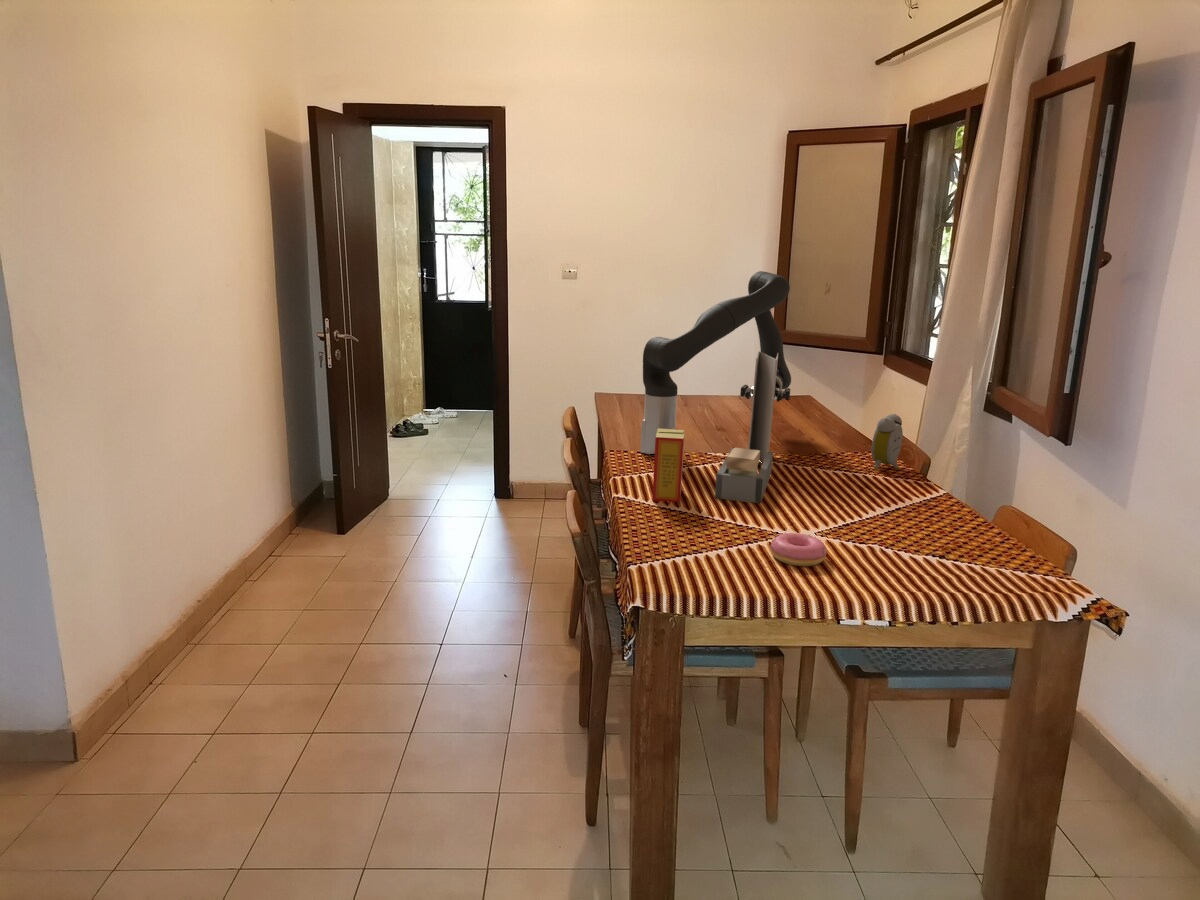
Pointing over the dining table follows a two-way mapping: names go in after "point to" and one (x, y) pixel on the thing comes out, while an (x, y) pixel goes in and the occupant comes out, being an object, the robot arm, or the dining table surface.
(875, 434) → the alarm clock
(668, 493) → the baking soda box
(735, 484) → the rack
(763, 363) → the brochure
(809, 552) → the doughnut
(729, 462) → the offcut stack
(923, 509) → the dining table surface
